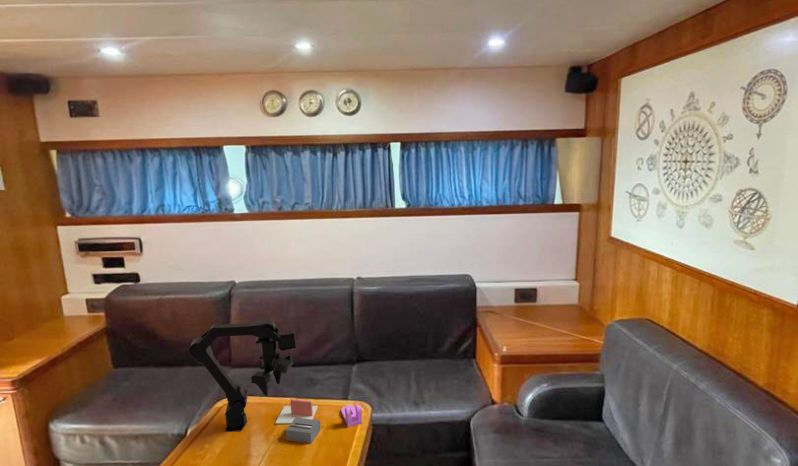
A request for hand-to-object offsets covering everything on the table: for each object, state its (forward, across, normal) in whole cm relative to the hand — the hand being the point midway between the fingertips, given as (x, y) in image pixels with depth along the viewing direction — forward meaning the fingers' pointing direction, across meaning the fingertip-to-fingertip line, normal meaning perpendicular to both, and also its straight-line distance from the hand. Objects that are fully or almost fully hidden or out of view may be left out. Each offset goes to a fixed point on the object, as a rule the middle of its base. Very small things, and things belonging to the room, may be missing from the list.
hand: (272, 389), depth 174 cm
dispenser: (+13, -7, -16) cm, 22 cm away
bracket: (+13, +8, -29) cm, 33 cm away
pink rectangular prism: (+9, +5, -5) cm, 12 cm away
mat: (+13, +5, -7) cm, 15 cm away
